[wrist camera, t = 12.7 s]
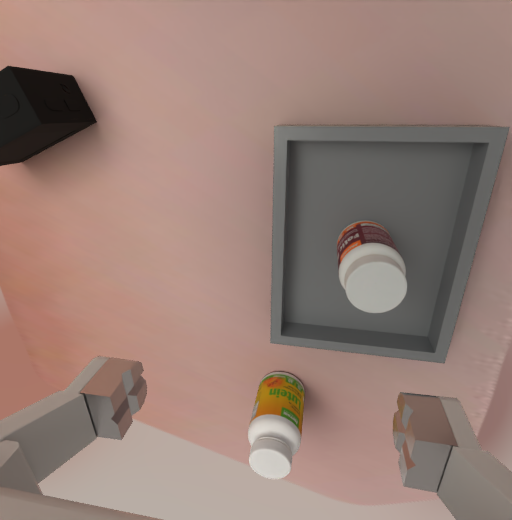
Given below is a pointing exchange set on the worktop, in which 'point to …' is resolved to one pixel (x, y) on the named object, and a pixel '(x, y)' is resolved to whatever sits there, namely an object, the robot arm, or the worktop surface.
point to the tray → (386, 214)
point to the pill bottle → (370, 267)
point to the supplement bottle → (276, 424)
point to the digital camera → (38, 112)
